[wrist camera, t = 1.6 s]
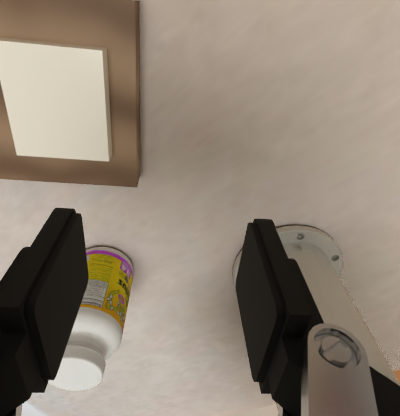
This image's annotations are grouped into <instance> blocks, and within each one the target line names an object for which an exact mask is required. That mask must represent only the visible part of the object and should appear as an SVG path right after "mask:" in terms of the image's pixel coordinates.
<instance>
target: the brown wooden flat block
mask: <svg viewBox="0 0 400 416" xmlns="http://www.w3.org/2000/svg"><path fill="white" fill-rule="evenodd" d="M0 38H10V39H20V40H30V41H40V42H51V43H61V44H71V45H81V46H91V47H101V48H107V63H108V82H109V100H110V119H111V138H112V156H111V158H110V160H109V162H108V161H93V160H78V159H64V158H49V157H34V156H19V155H17V154H16V149H15V145H14V140H13V136H12V131H11V127H10V122H9V118H8V113H7V109H6V104H5V100H4V96H3V91H2V87H1V82H0V179H12V180H28V181H44V182H61V183H77V184H94V185H110V186H126V187H137V185H138V181H139V177H140V42H139V1H134V0H0Z"/></svg>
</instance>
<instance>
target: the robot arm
mask: <svg viewBox="0 0 400 416" xmlns="http://www.w3.org/2000/svg"><path fill="white" fill-rule="evenodd" d="M342 266H343V259H342V254H341V252H340V250H339V248H338V246H337V245H336V243H335V242H334V240H333V239H332V238H331V237H330V236H328V235H327V234H326V233H324V232H322V231H320V230H318V229H315V228H312V227H308V226H298V225H296V226H285V227H280V228H275V225H274V223H273V221H272V220H271V219H254V221H253V223H248V226H247V230H246V235H245V240H244V244H243V249H242V250H241V251H240V253H239V255H238V256H237V258H236V260H235V263H234V266H233V279H234V284H235V287H236V293H237V298H238V304H239V309H240V314H241V320H242V325H243V330H244V336H245V341H246V346H247V352H248V357H249V362H250V368H251V373H252V378H253V381H254V382H259V385H260V390H261V394H271V395H272V399H273V400H274V401H275V402H276V404H277V408H278V413H279V414H278V416H400V383H399V381H398V379H397V378H396V376H395V374H394V372H393V371H392V369H391V367H390V365H389V364H388V362H387V360H386V358H385V357H384V355H383V353H382V351H381V350H380V348H379V346H378V344H377V343H376V341H375V339H374V338H373V336H372V334H371V332H370V331H369V329H368V327H367V325H366V324H365V322H364V320H363V318H362V317H361V315H360V313H359V311H358V310H357V308H356V306H355V304H354V303H353V301H352V299H351V297H350V296H349V294H348V292H347V291H346V289H345V287H344V285H343V284H342V282H341V280H340V278H339V277H340V274H341V271H342ZM88 279H89V273H88V265H87V257H86V248H85V240H84V232H83V223H82V216H81V214H79V213H76V211H75V209H69V208H55V209H54V210H53V212H52V213H51V215H50V216H49V218H48V220H47V221H46V223H45V224H44V226H43V228H42V229H41V231H40V232H39V234H38V235H37V237H36V239H35V240H34V242H33V243H32V245H31V247H24V248H23V249H22V250H21V251H20V252H19V254H18V255H17V257H16V258H15V260H14V261H13V263H12V264H11V266H10V267H9V269H8V270H7V272H6V273H5V275H4V276H3V278H2V279H1V281H0V416H21V411H22V403H24V402H25V401H27V400H28V399H29V398H30V396H31V394H32V393H44V392H45V389H46V386H47V384H48V381H49V380H54V379H55V378H56V375H57V373H58V370H59V367H60V364H61V361H62V358H63V355H64V352H65V349H66V346H67V343H68V340H69V338H70V335H71V332H72V329H73V326H74V323H75V320H76V317H77V314H78V311H79V308H80V305H81V302H82V299H83V296H84V293H85V291H86V288H87V284H88Z"/></svg>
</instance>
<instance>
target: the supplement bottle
mask: <svg viewBox="0 0 400 416" xmlns="http://www.w3.org/2000/svg"><path fill="white" fill-rule="evenodd" d="M86 257H87V265H88V273H89V279H88V284H87V288H86V291H85V293H84V296H83V299H82V302H81V305H80V308H79V311H78V314H77V317H76V320H75V323H74V326H73V329H72V332H71V335H70V338H69V340H68V343H67V346H66V349H65V352H64V355H63V358H62V361H61V364H60V367H59V370H58V373H57V375H56V378H55V379H54V380H49V381H48V382H49V383H50V384H52V385H53V386H55V387H58V388H61V389H65V390H71V391H78V390H86V389H90V388H93V387H95V386H96V385H98V384H99V383H100V382H101V380H102V378H103V373H104V369H105V360H106V359H108V358H109V357H111V356H112V355H113V354H114V353H115V352H116V351H117V349H118V347H119V346H120V343H121V339H122V334H123V328H124V323H125V317H126V312H127V307H128V301H129V296H130V290H131V285H132V279H133V267H132V264H131V262H130V260H129V259H128V258H127V257H126V256H125V255H124V254H123V253H121V252H120V251H118V250H115V249H113V248H109V247H94V248H90V249H87V250H86Z"/></svg>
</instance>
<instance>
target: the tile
mask: <svg viewBox="0 0 400 416" xmlns="http://www.w3.org/2000/svg"><path fill="white" fill-rule="evenodd" d="M0 82H1V87H2V91H3V96H4V100H5V104H6V109H7V113H8V118H9V122H10V127H11V131H12V136H13V140H14V145H15V149H16V154H17V155H19V156H34V157H49V158H64V159H78V160H93V161H108V162H109V160H110V158H111V156H112V138H111V119H110V100H109V82H108V63H107V48H101V47H91V46H81V45H71V44H61V43H51V42H40V41H30V40H20V39H10V38H0Z"/></svg>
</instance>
